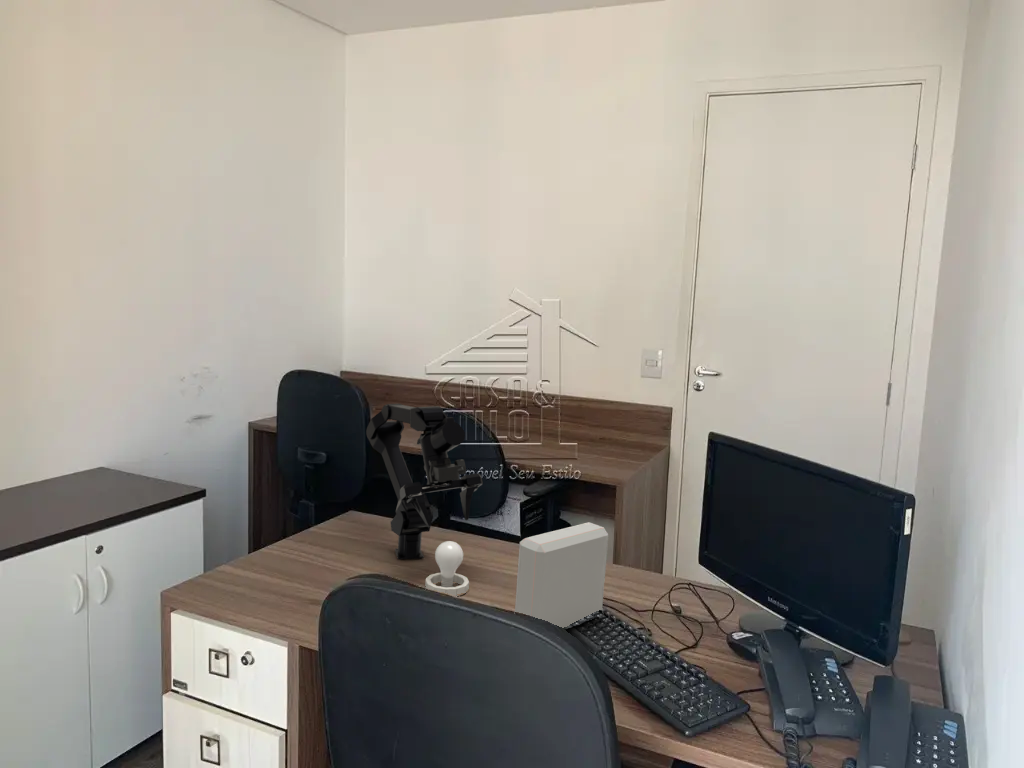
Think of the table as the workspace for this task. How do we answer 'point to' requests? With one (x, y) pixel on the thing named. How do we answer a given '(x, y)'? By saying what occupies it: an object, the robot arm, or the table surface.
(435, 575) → the socket
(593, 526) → the bevelled white case
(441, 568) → the lightbulb
